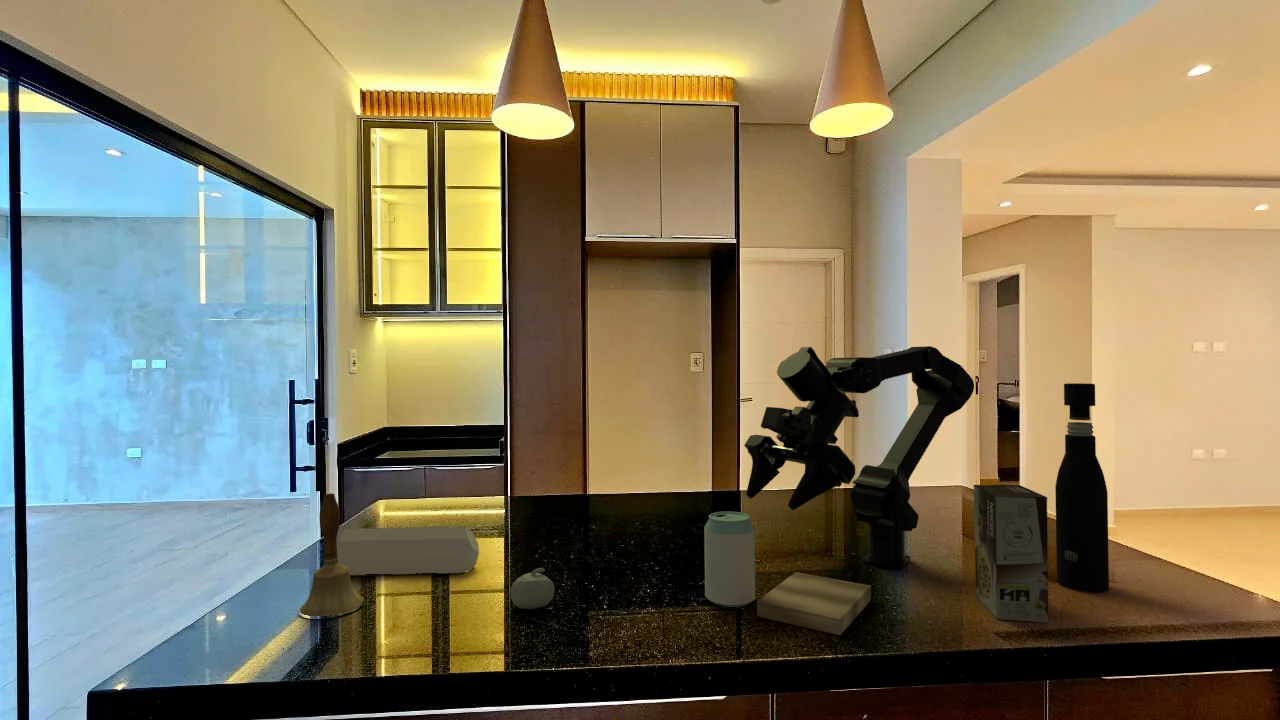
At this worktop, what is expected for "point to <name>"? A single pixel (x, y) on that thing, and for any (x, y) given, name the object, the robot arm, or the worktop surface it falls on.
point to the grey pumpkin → (532, 590)
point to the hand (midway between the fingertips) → (768, 502)
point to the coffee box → (1011, 552)
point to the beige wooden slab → (815, 602)
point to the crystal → (407, 550)
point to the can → (729, 559)
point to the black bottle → (1081, 501)
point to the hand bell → (331, 571)
